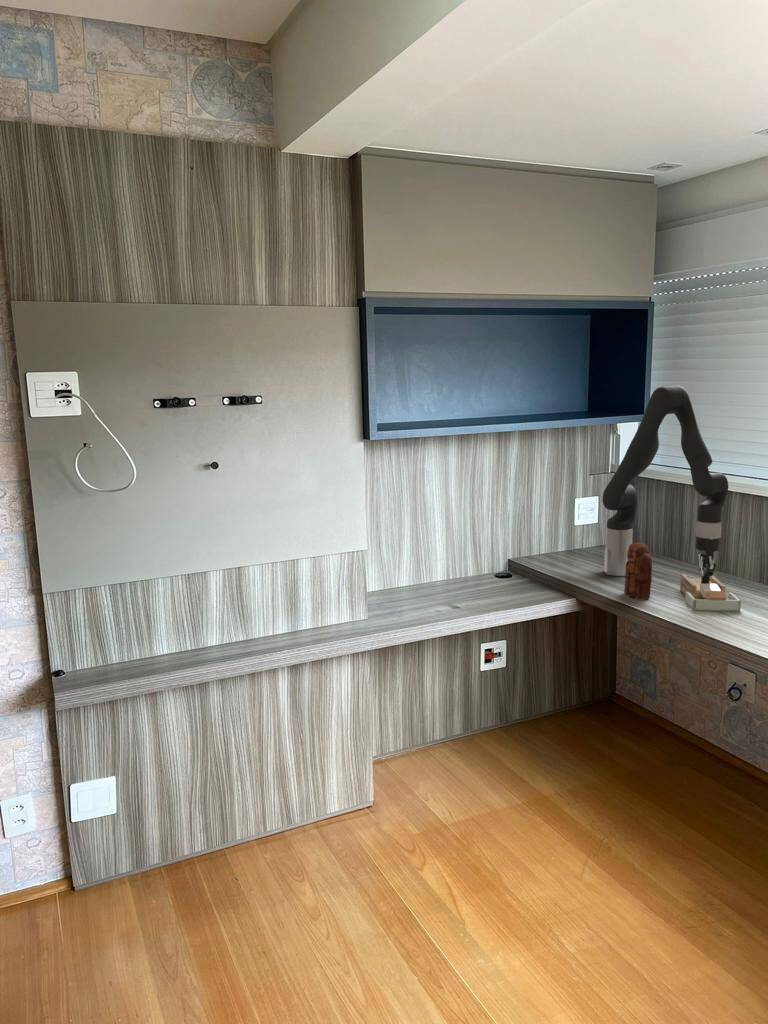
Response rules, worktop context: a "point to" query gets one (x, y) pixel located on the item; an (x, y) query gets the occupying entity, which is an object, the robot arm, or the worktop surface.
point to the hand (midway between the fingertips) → (704, 587)
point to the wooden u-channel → (697, 585)
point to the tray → (713, 604)
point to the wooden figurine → (638, 571)
